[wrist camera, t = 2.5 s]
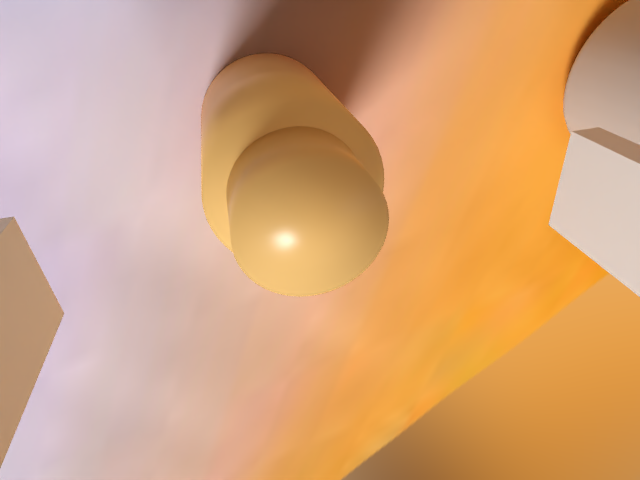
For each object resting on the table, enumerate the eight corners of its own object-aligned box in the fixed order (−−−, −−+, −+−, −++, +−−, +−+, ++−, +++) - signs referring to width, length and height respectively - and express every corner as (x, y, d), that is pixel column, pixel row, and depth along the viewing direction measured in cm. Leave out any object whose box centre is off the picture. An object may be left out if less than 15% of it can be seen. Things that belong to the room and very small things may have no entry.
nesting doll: (215, 190, 17) (224, 332, 11) (186, 61, 15) (176, 148, 8) (333, 170, 18) (408, 294, 12) (326, 45, 16) (419, 112, 9)
